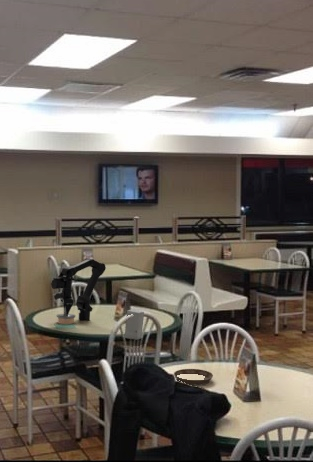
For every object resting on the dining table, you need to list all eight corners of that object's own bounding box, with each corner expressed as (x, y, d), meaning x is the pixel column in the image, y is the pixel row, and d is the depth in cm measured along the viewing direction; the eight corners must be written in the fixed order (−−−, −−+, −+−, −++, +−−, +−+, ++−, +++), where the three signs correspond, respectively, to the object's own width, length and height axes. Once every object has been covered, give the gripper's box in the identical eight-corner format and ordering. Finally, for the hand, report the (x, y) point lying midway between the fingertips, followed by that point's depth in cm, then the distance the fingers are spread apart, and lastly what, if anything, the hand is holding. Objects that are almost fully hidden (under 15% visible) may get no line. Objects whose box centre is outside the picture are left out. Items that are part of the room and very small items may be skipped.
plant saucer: (176, 386, 273) (177, 379, 272) (171, 374, 290) (171, 368, 290) (216, 386, 275) (216, 380, 274) (208, 375, 292) (208, 368, 292)
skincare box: (124, 338, 358) (125, 310, 357) (130, 335, 364) (131, 308, 363) (137, 340, 354) (138, 312, 353) (143, 337, 360) (144, 310, 359)
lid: (73, 314, 398) (74, 306, 398) (76, 318, 387) (77, 309, 386) (55, 314, 395) (55, 306, 394) (57, 318, 383) (58, 310, 383)
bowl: (72, 321, 397) (72, 315, 397) (74, 324, 388) (74, 318, 387) (57, 321, 394) (57, 315, 394) (59, 324, 385) (59, 318, 385)
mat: (73, 324, 386) (73, 324, 386) (76, 329, 375) (76, 328, 375) (54, 325, 383) (54, 324, 383) (56, 329, 371) (56, 328, 371)
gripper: (52, 285, 396) (51, 309, 397) (55, 290, 378) (55, 315, 379) (69, 285, 399) (68, 309, 400) (74, 290, 381) (73, 315, 382)
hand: (66, 312), depth 390 cm, fingers open, 9 cm apart
